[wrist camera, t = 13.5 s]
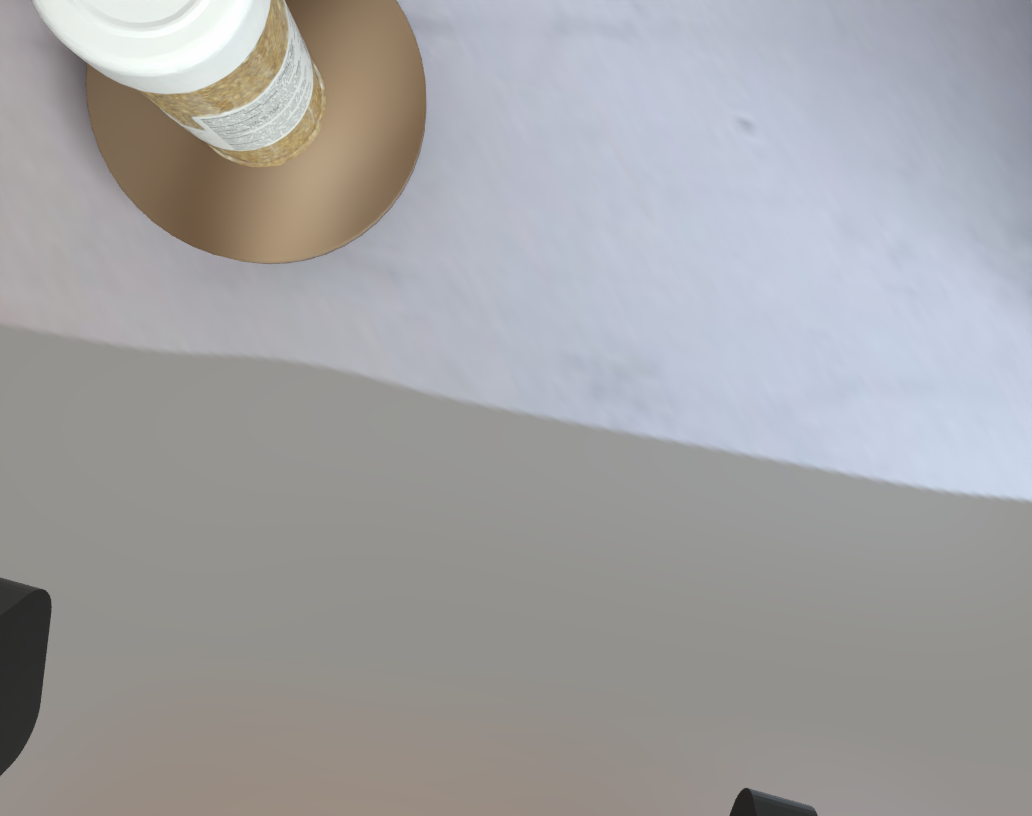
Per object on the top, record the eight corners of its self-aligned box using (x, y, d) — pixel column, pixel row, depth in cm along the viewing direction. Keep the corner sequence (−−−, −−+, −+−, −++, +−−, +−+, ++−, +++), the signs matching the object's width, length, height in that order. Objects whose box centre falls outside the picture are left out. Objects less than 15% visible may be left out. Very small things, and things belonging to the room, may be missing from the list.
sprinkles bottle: (165, 64, 31) (-36, -119, 18) (292, 7, 31) (188, -218, 18) (229, 194, 32) (81, 112, 18) (353, 137, 32) (297, 14, 19)
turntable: (464, -1, 33) (466, -16, 32) (375, 303, 34) (373, 303, 32) (149, -111, 32) (135, -133, 30) (64, 207, 33) (46, 203, 31)
